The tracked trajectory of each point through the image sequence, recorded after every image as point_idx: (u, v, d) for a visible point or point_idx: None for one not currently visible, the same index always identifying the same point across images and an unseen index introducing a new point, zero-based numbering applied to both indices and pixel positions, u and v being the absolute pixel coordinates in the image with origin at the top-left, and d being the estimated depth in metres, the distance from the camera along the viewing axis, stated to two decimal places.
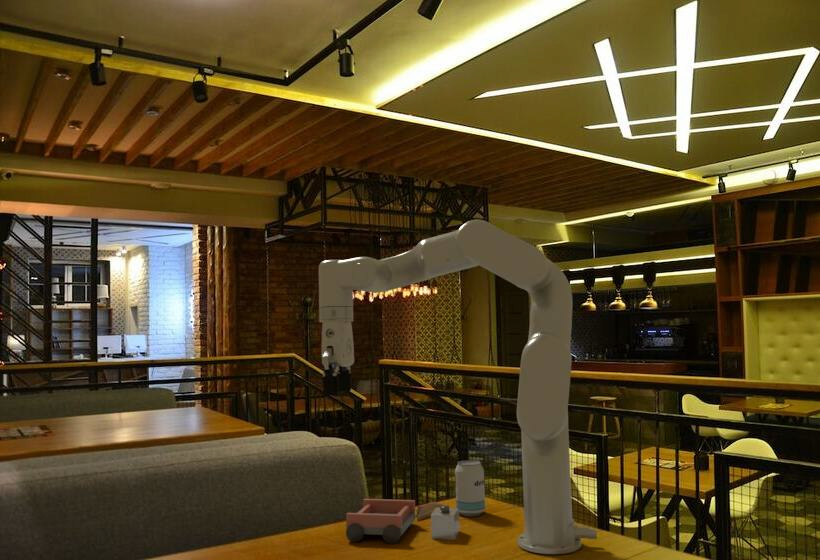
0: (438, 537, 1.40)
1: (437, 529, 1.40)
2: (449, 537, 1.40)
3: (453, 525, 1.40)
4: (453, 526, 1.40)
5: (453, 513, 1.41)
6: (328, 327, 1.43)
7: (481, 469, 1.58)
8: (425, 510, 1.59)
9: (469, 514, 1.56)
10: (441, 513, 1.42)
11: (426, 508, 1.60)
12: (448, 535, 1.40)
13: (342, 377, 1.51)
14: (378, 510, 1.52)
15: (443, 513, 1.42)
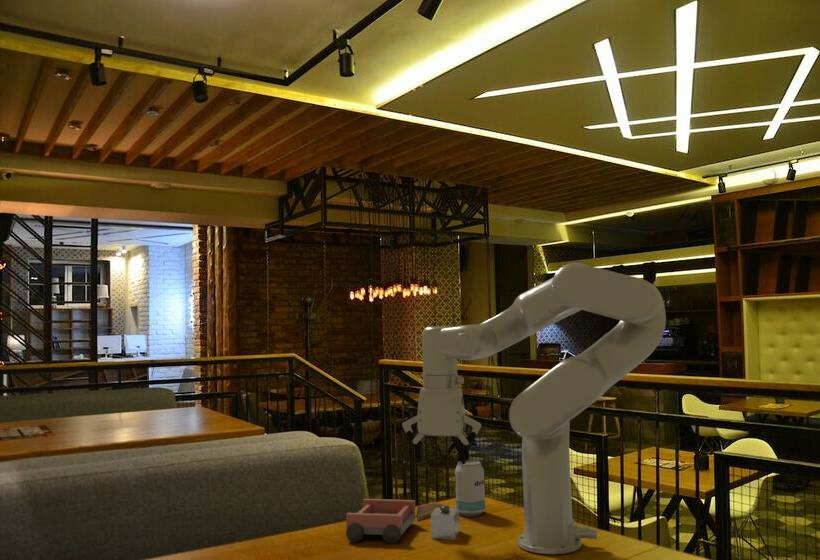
0: (438, 537, 1.40)
1: (437, 529, 1.40)
2: (449, 537, 1.40)
3: (453, 525, 1.40)
4: (453, 526, 1.40)
5: (453, 513, 1.41)
6: (460, 395, 1.44)
7: (481, 469, 1.58)
8: (425, 510, 1.59)
9: (469, 514, 1.56)
10: (441, 513, 1.42)
11: (426, 508, 1.60)
12: (448, 535, 1.40)
13: (421, 447, 1.45)
14: (378, 510, 1.52)
15: (443, 513, 1.42)
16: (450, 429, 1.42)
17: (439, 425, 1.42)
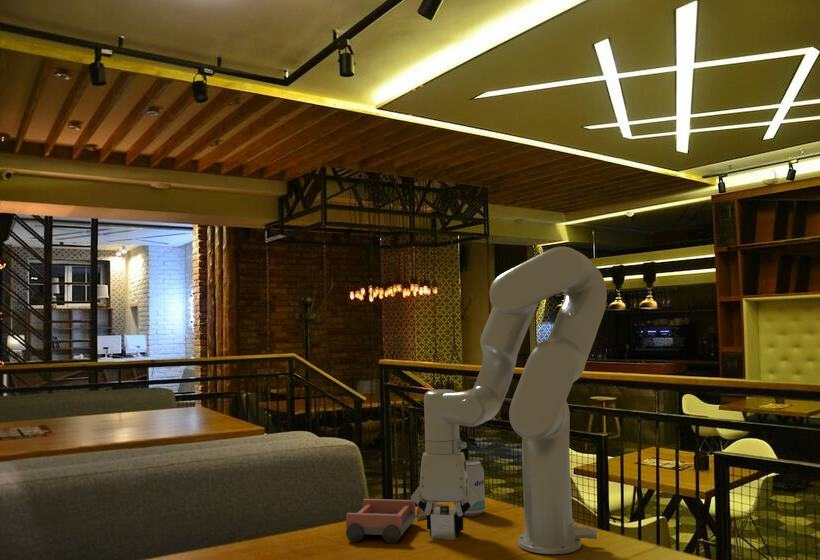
0: (438, 536, 1.40)
1: (437, 528, 1.40)
2: (449, 537, 1.40)
3: (453, 525, 1.40)
4: (453, 526, 1.40)
5: (453, 513, 1.41)
6: (463, 460, 1.43)
7: (481, 469, 1.58)
8: None
9: (469, 514, 1.56)
10: (441, 512, 1.42)
11: None
12: (448, 535, 1.40)
13: None
14: (378, 510, 1.52)
15: (443, 512, 1.42)
16: (453, 495, 1.41)
17: (442, 491, 1.41)
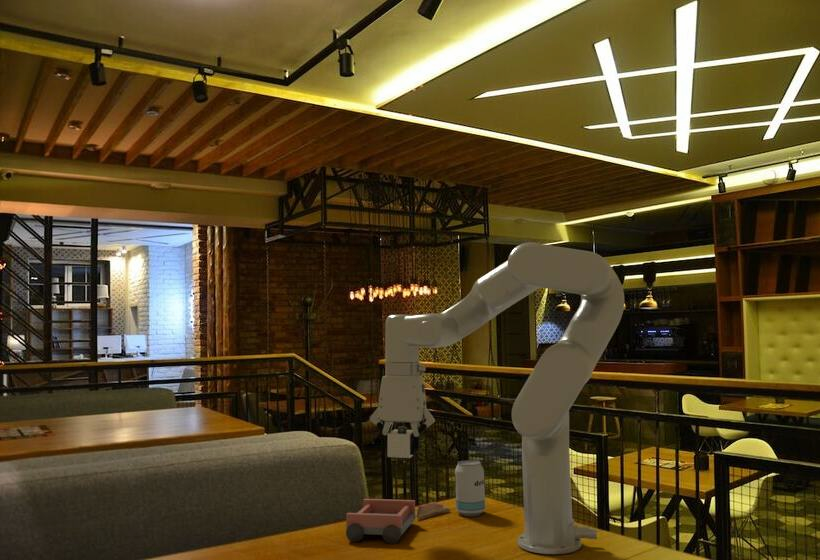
0: (394, 455, 1.43)
1: (393, 447, 1.44)
2: (404, 455, 1.43)
3: (409, 444, 1.43)
4: (409, 444, 1.43)
5: (410, 433, 1.45)
6: (421, 382, 1.46)
7: (481, 469, 1.58)
8: (425, 510, 1.59)
9: (469, 514, 1.56)
10: (398, 432, 1.45)
11: (427, 508, 1.60)
12: (404, 454, 1.43)
13: None
14: (378, 510, 1.52)
15: (400, 432, 1.45)
16: (410, 415, 1.44)
17: (399, 411, 1.44)
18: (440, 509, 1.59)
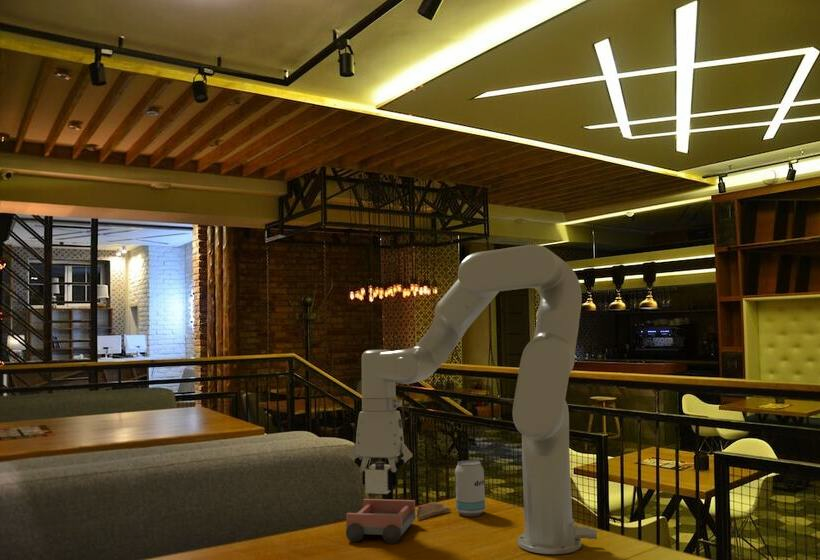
0: (372, 491, 1.44)
1: (371, 483, 1.44)
2: (382, 491, 1.43)
3: (386, 479, 1.43)
4: (386, 480, 1.43)
5: (387, 468, 1.45)
6: (398, 418, 1.46)
7: (481, 469, 1.58)
8: (425, 510, 1.59)
9: (469, 514, 1.56)
10: (376, 468, 1.45)
11: (427, 508, 1.60)
12: (381, 489, 1.43)
13: None
14: (378, 510, 1.52)
15: (378, 468, 1.45)
16: (388, 451, 1.44)
17: (376, 447, 1.45)
18: (440, 509, 1.59)
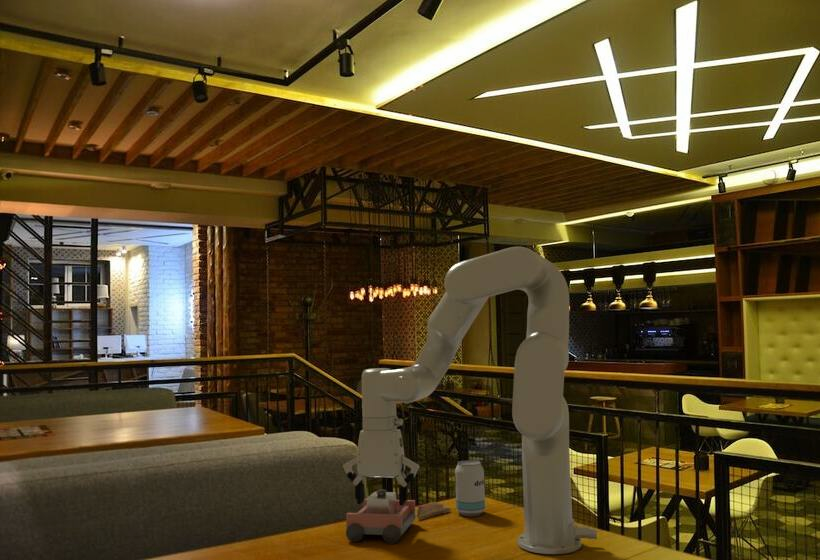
0: None
1: (372, 512, 1.43)
2: None
3: (388, 508, 1.43)
4: (388, 509, 1.43)
5: (389, 497, 1.44)
6: (399, 436, 1.46)
7: (481, 469, 1.58)
8: (425, 510, 1.59)
9: (469, 514, 1.56)
10: (377, 496, 1.45)
11: (427, 508, 1.60)
12: None
13: (361, 488, 1.47)
14: None
15: (379, 496, 1.45)
16: (389, 470, 1.44)
17: (378, 466, 1.44)
18: (440, 509, 1.59)
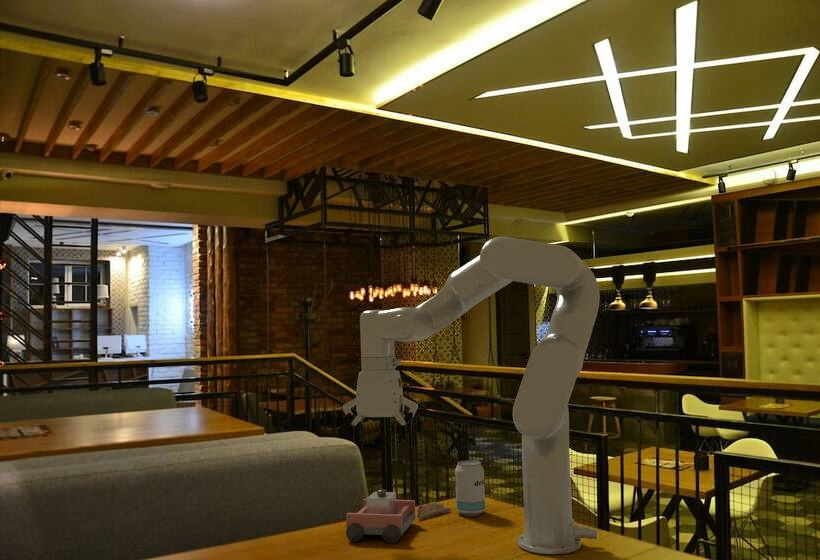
0: None
1: (372, 512, 1.43)
2: None
3: (388, 508, 1.43)
4: (388, 509, 1.43)
5: (389, 497, 1.44)
6: (398, 376, 1.47)
7: (481, 469, 1.58)
8: (426, 510, 1.59)
9: (469, 514, 1.56)
10: (377, 496, 1.45)
11: (427, 508, 1.60)
12: None
13: (361, 429, 1.48)
14: None
15: (379, 496, 1.45)
16: (388, 409, 1.45)
17: (377, 406, 1.45)
18: (441, 509, 1.59)
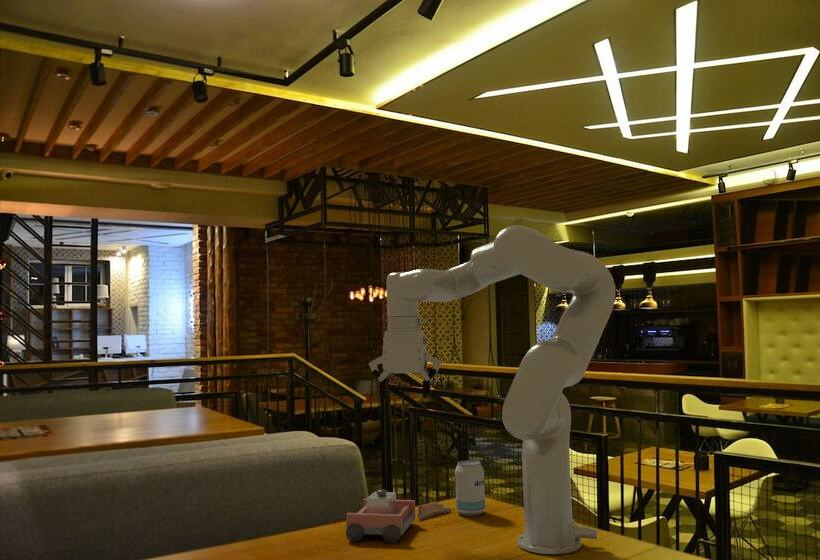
0: None
1: (372, 512, 1.43)
2: None
3: (388, 508, 1.43)
4: (388, 509, 1.43)
5: (389, 497, 1.44)
6: (422, 335, 1.55)
7: (481, 469, 1.58)
8: (426, 510, 1.59)
9: (469, 514, 1.56)
10: (377, 496, 1.45)
11: (427, 508, 1.60)
12: None
13: (386, 384, 1.56)
14: None
15: (379, 496, 1.45)
16: (413, 366, 1.53)
17: (402, 362, 1.53)
18: (441, 509, 1.59)
